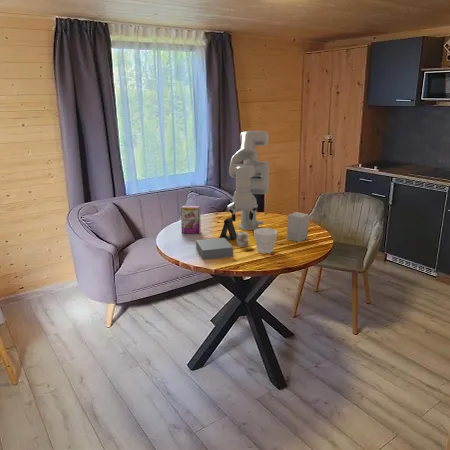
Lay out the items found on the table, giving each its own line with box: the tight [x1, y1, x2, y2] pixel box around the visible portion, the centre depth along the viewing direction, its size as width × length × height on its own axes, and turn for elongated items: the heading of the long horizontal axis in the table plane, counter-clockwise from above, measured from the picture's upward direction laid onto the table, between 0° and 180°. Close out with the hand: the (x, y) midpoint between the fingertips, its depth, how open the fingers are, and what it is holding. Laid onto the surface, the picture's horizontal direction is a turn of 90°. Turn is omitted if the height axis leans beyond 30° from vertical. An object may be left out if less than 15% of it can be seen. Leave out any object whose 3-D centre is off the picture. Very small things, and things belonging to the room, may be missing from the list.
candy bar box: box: [180, 205, 201, 235], centre depth 247 cm, size 11×5×16 cm, turn 84°
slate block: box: [195, 237, 234, 260], centre depth 216 cm, size 16×16×5 cm
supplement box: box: [286, 211, 310, 243], centre depth 236 cm, size 9×9×15 cm
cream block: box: [236, 231, 249, 248], centre depth 227 cm, size 5×5×7 cm
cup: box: [253, 227, 278, 255], centre depth 218 cm, size 12×12×11 cm
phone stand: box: [218, 216, 237, 241], centre depth 238 cm, size 9×6×12 cm, turn 66°
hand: (242, 220), depth 223 cm, fingers open, 9 cm apart
